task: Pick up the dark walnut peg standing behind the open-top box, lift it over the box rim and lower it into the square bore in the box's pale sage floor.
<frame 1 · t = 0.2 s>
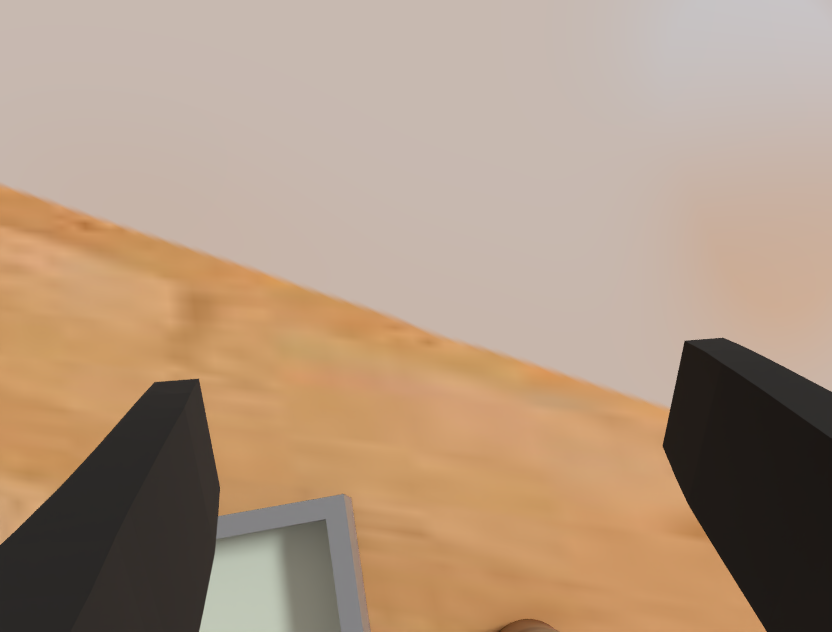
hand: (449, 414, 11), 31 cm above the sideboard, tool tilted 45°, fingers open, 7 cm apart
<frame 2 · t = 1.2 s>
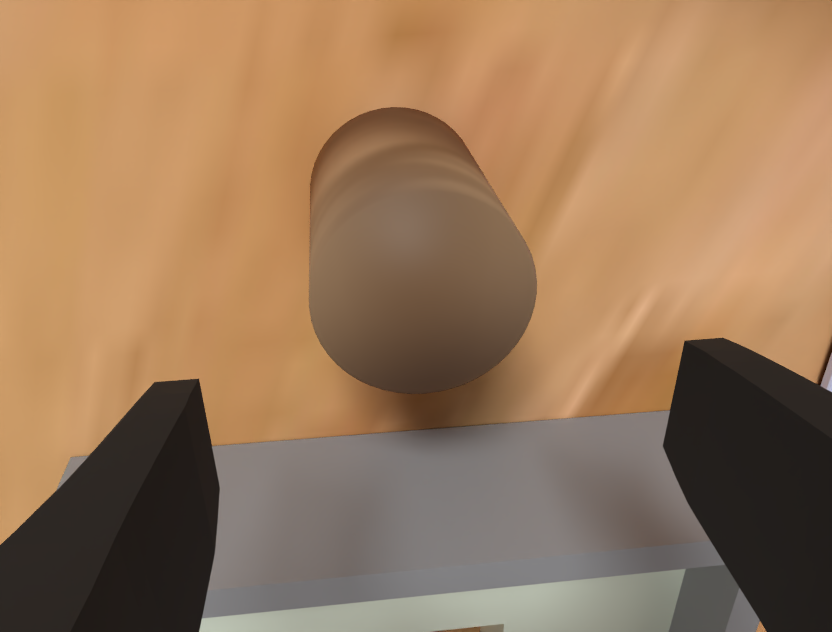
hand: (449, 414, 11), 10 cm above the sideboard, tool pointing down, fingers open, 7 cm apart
peg: (394, 191, 19), on the sideboard
socket box: (401, 617, 27), on the sideboard
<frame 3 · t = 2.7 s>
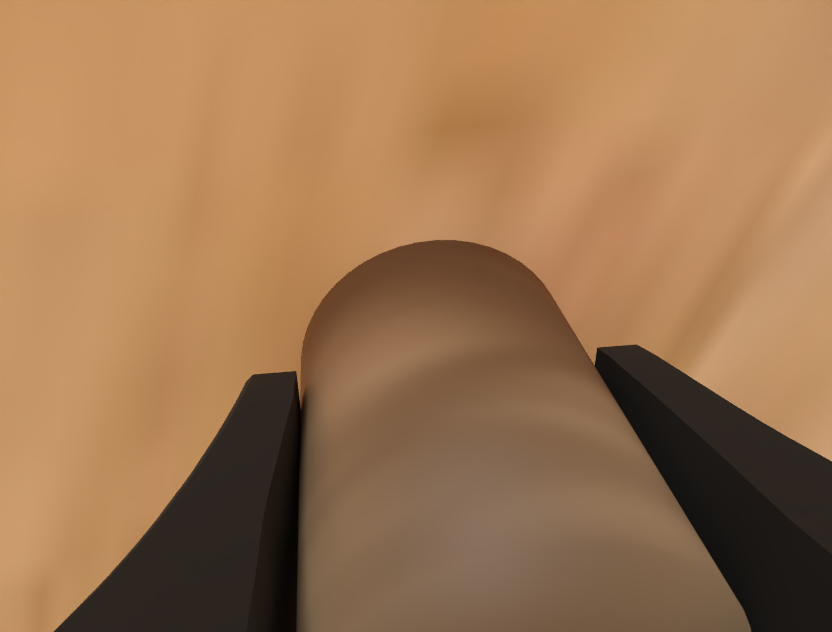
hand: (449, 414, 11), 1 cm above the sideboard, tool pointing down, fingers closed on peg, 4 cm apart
peg: (434, 361, 12), on the sideboard, touching gripper
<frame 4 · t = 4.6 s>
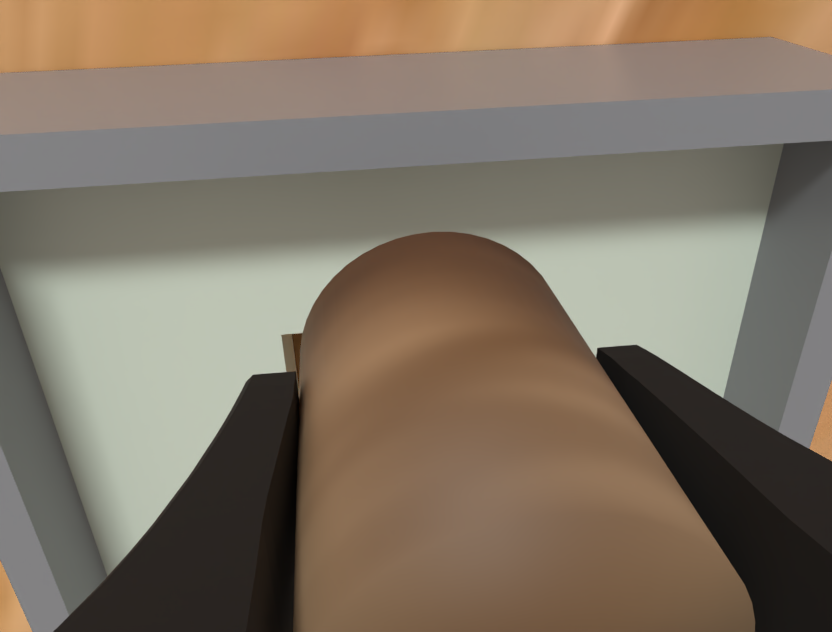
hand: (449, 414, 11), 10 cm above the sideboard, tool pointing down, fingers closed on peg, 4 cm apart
peg: (433, 355, 12), point 8 cm above the sideboard, touching gripper
socket box: (398, 361, 22), on the sideboard
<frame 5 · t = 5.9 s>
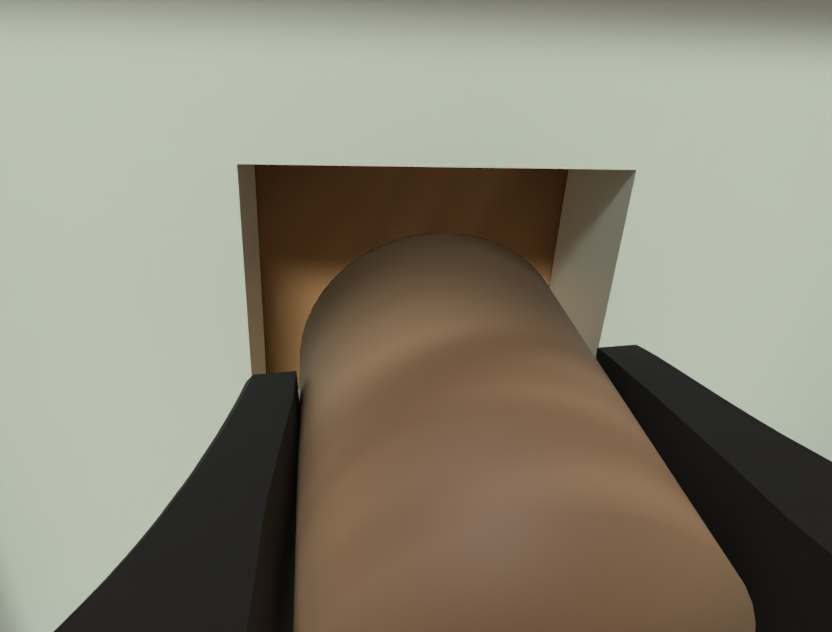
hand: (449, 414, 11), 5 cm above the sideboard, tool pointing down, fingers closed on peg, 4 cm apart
peg: (434, 356, 12), point 4 cm above the sideboard, touching gripper
socket box: (410, 264, 15), on the sideboard
when the fingers open (3 cm above the sideboard, at t = 6.7 s): peg drops 2 cm, resting in socket box.
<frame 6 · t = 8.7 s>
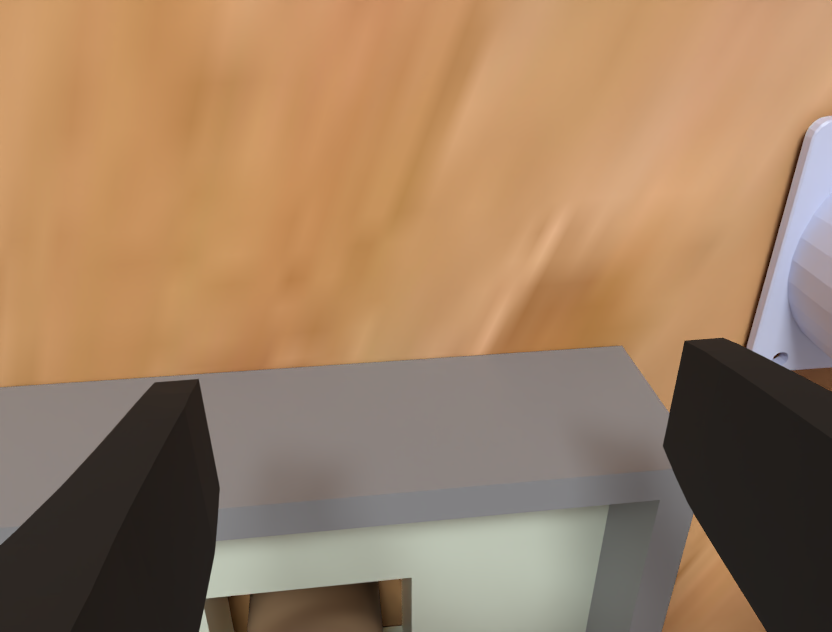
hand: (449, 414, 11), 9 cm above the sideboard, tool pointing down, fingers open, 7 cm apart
peg: (314, 575, 26), resting in socket box
socket box: (314, 577, 26), on the sideboard
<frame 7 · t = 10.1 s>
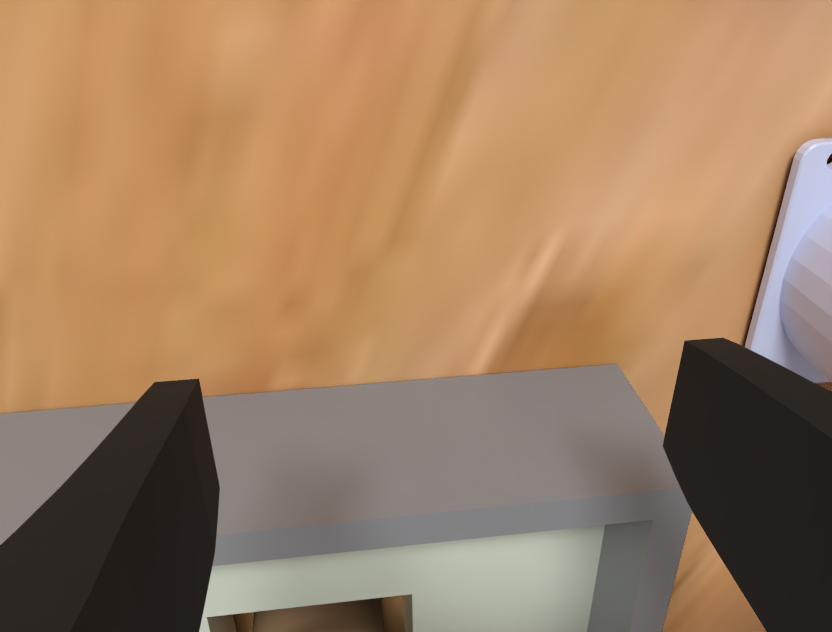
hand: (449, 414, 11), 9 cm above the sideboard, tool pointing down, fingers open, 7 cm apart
peg: (318, 590, 26), resting in socket box
socket box: (317, 592, 26), on the sideboard
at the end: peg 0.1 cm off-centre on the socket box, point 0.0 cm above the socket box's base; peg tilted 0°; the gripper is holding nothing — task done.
